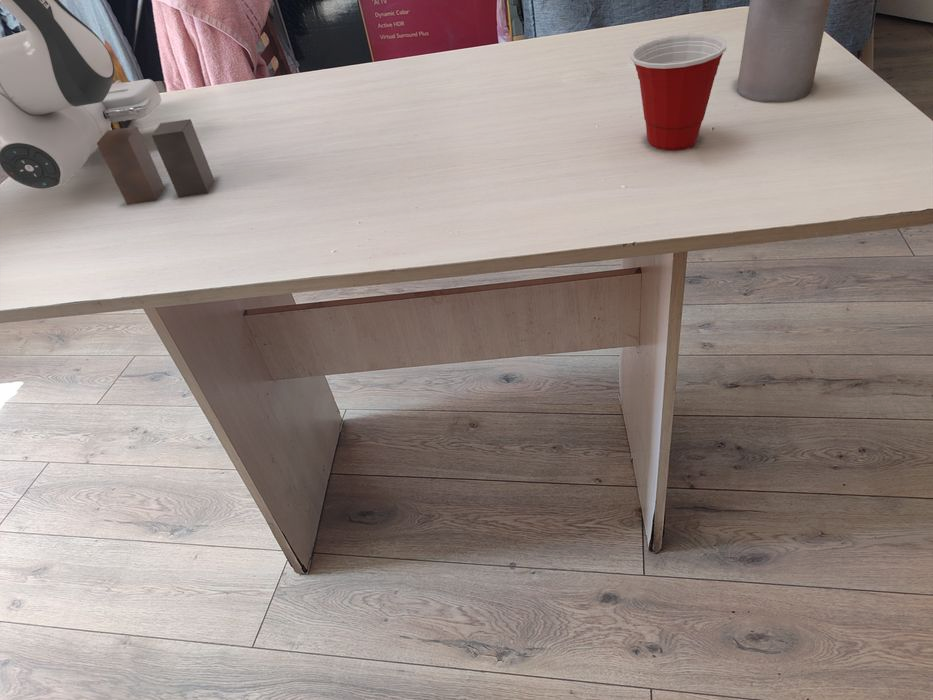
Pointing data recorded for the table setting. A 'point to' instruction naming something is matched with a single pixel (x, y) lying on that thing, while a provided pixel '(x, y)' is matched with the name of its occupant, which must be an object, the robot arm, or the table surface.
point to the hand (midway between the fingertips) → (107, 87)
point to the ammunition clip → (118, 75)
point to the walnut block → (131, 165)
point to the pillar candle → (781, 48)
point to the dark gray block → (183, 158)
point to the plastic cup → (676, 86)
